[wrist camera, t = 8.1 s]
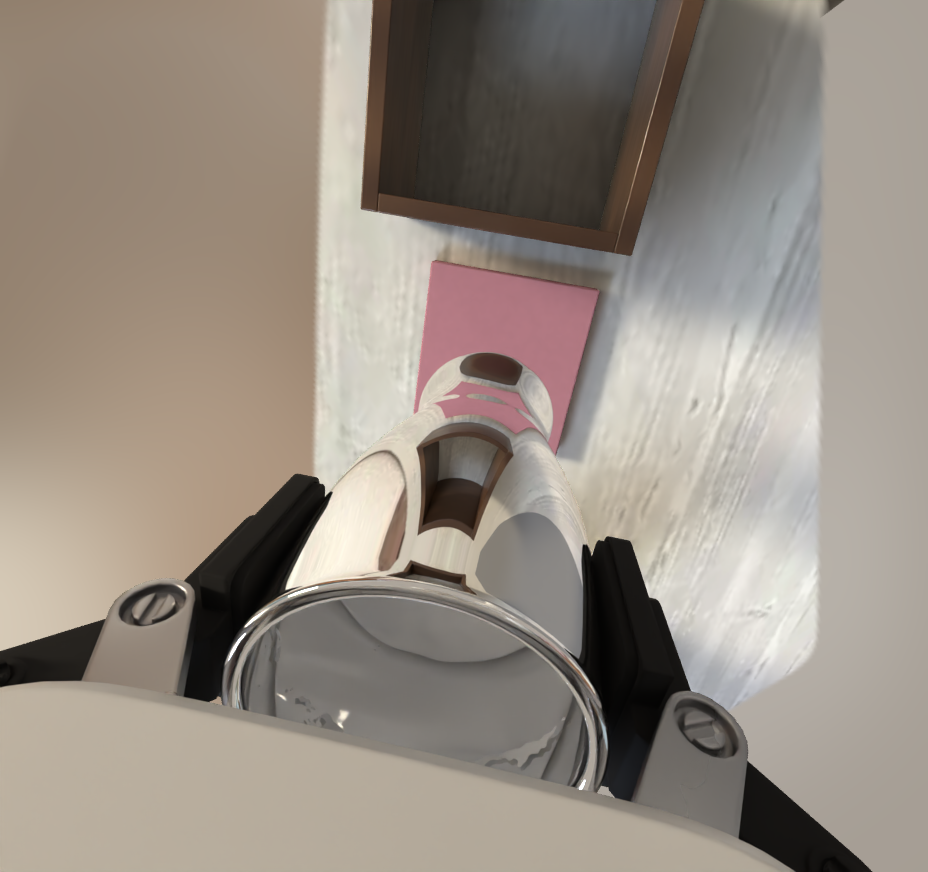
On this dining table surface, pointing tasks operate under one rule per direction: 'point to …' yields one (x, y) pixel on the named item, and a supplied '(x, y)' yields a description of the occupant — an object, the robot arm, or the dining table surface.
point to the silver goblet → (443, 592)
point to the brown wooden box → (392, 192)
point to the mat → (508, 326)
